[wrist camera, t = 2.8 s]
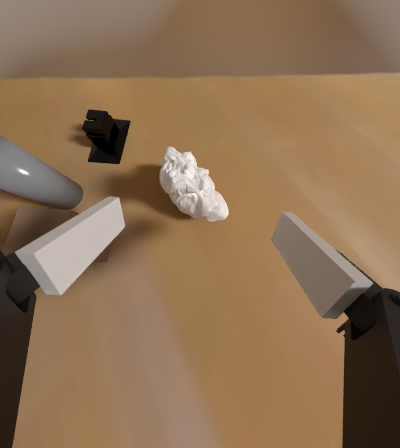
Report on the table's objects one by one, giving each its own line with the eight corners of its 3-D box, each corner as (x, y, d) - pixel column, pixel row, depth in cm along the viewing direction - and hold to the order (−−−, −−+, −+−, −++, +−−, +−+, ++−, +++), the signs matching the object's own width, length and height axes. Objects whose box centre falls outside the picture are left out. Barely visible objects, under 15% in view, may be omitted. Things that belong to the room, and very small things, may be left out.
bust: (171, 181, 27) (111, 175, 17) (196, 144, 23) (140, 110, 13) (215, 230, 25) (177, 256, 15) (250, 198, 21) (230, 204, 11)
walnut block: (71, 258, 21) (-2, 258, 13) (81, 225, 22) (19, 206, 14) (106, 261, 21) (54, 262, 13) (114, 227, 22) (70, 210, 14)
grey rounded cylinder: (45, 209, 22) (-51, 177, 14) (55, 180, 24) (-27, 133, 15) (78, 211, 22) (2, 181, 14) (86, 182, 24) (22, 137, 15)
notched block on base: (100, 114, 28) (82, 86, 23) (138, 117, 28) (127, 90, 23) (82, 171, 25) (58, 152, 20) (125, 175, 25) (110, 157, 20)
